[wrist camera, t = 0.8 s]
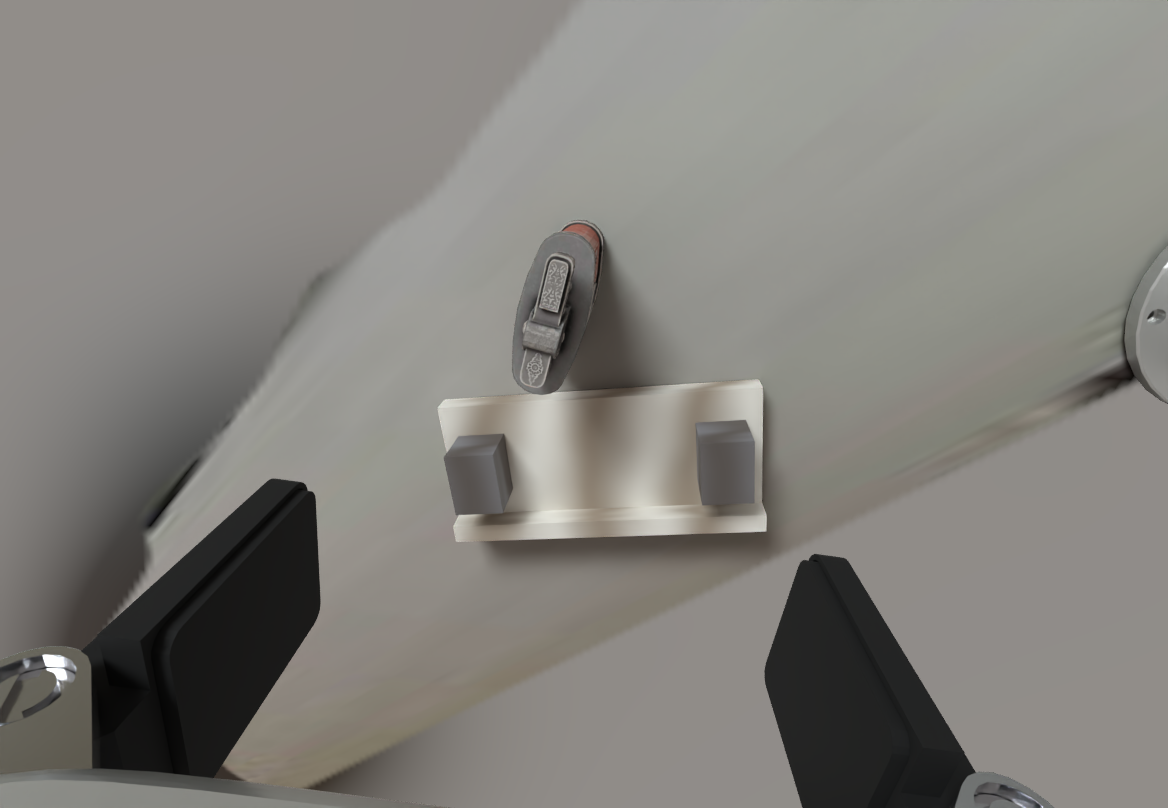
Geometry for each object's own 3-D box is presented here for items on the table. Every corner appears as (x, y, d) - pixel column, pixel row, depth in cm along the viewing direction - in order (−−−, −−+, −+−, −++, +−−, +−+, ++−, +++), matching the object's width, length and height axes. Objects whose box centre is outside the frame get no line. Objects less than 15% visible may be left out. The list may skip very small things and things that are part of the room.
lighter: (579, 358, 36) (558, 423, 27) (527, 343, 36) (488, 403, 27) (615, 228, 33) (605, 251, 24) (557, 212, 33) (525, 228, 24)
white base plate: (758, 379, 35) (773, 406, 31) (757, 505, 39) (771, 546, 35) (444, 399, 38) (420, 427, 34) (468, 516, 41) (449, 555, 37)
